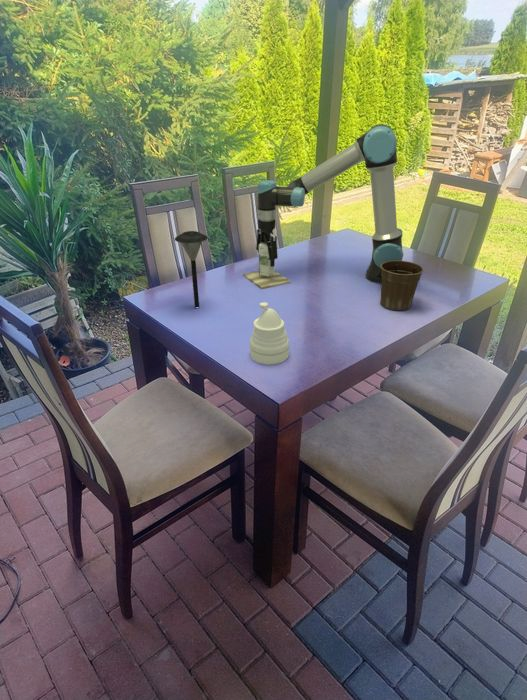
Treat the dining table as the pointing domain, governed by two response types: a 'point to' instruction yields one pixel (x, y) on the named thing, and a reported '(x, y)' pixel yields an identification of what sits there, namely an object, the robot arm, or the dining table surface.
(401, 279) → the plant pot
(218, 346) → the dining table surface
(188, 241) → the solar garden light
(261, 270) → the syrup box
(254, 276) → the birch board
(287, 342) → the honey pot
